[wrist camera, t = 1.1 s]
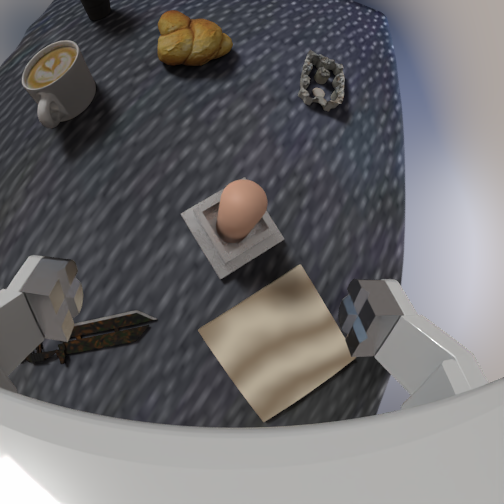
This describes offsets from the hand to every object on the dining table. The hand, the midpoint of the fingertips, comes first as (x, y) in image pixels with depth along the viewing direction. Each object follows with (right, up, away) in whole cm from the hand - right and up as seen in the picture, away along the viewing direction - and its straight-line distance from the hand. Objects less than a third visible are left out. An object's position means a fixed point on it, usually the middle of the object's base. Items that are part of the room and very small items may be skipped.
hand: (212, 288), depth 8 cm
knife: (-24, -11, +28) cm, 38 cm away
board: (+5, -12, +32) cm, 34 cm away
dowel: (-1, +4, +31) cm, 32 cm away
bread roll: (-9, +35, +35) cm, 50 cm away
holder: (-2, +4, +32) cm, 33 cm away
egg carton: (+12, +30, +38) cm, 50 cm away
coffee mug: (-30, +25, +31) cm, 50 cm away
